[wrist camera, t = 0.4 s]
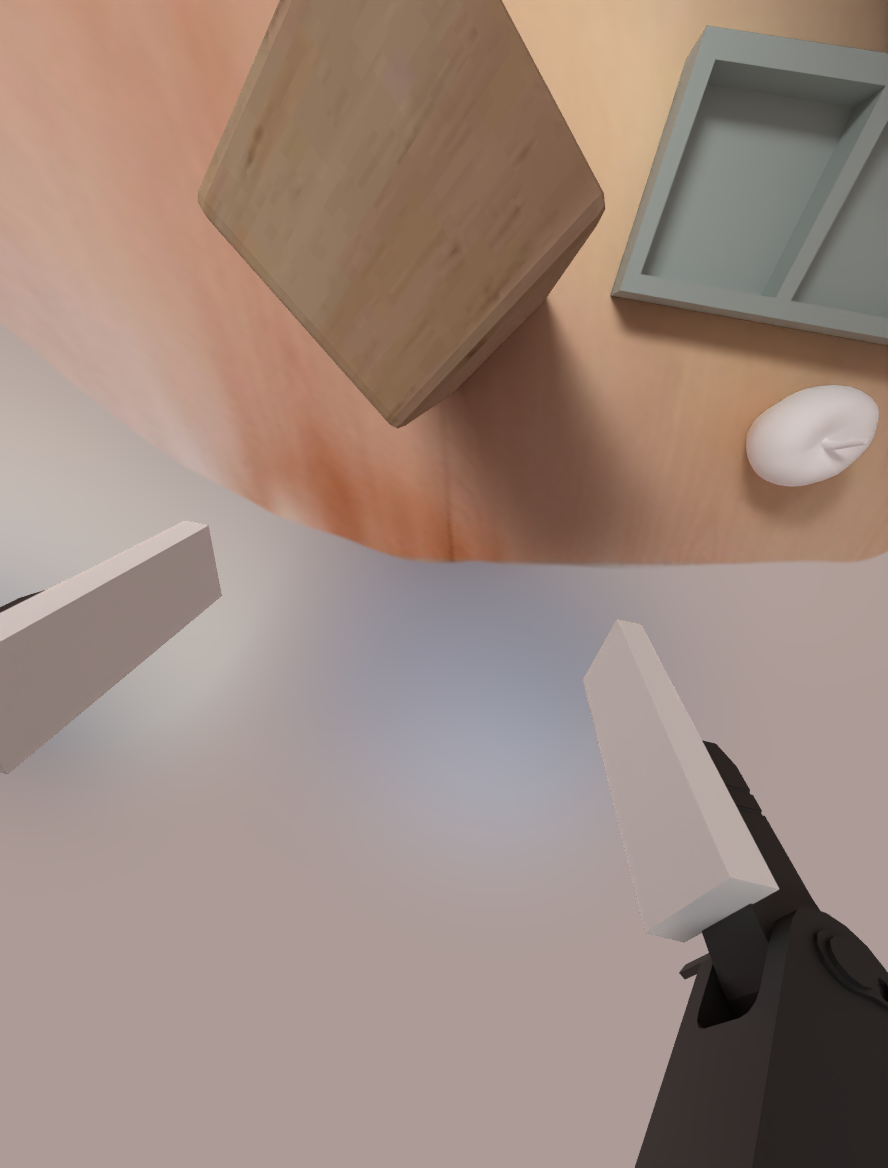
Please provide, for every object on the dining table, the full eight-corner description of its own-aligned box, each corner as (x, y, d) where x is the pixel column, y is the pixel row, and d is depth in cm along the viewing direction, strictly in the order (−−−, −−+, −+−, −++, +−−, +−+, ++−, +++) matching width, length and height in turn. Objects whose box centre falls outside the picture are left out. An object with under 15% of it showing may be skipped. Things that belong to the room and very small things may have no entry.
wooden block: (548, 296, 28) (616, 203, 11) (451, 394, 32) (395, 435, 15) (463, 161, 25) (374, -258, 8) (369, 290, 29) (185, 199, 12)
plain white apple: (842, 431, 30) (941, 452, 23) (747, 488, 33) (810, 522, 26) (809, 358, 28) (907, 359, 21) (711, 427, 31) (769, 447, 24)
